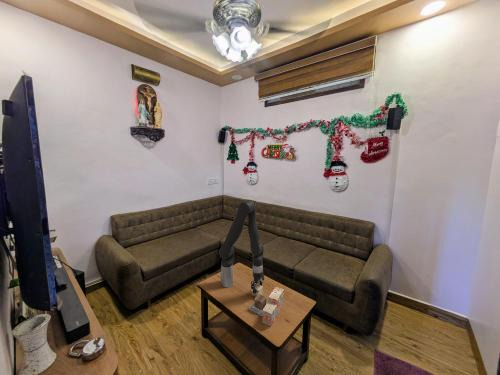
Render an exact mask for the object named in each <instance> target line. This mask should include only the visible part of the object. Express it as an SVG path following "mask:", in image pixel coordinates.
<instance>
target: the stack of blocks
mask: <svg viewBox="0 0 500 375" xmlns="http://www.w3.org/2000/svg"><path fill="white" fill-rule="evenodd" d="M284 297H285V290H284V288H281V287H278V286H275V287H274V288H273V290H272V291H271V292H270V294H269V296H268V301H267V302H268V303H267V304H266V306H265V307H264V309H263V314H262V316H261V318H262V319H261V321H262V324H264V325H267V326H269V327H272V326H273V324H274V322H275V321H276V319H277V317H278V315H279V313H280V311H281V309H282V308H283V306H284V301H285V300H284Z"/></svg>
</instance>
